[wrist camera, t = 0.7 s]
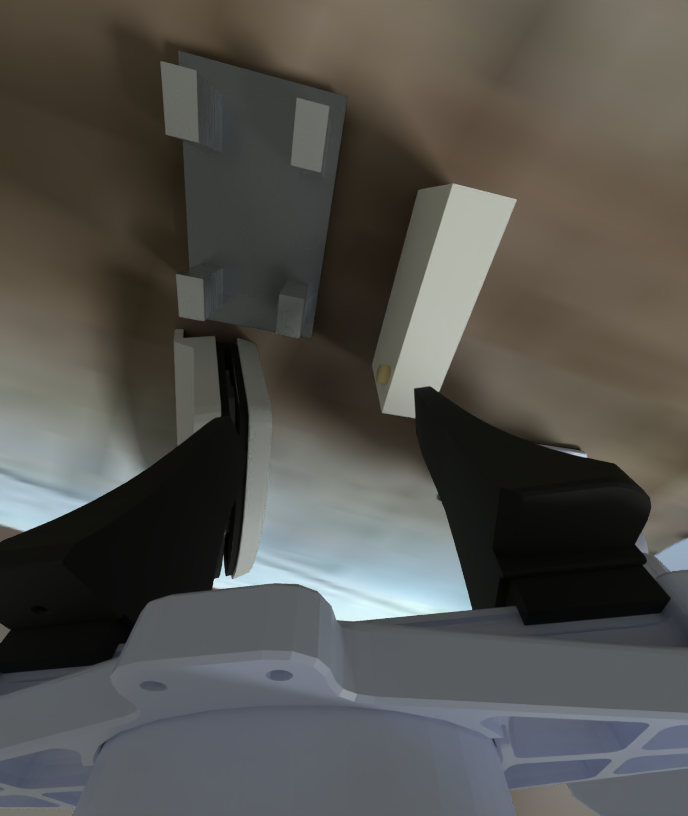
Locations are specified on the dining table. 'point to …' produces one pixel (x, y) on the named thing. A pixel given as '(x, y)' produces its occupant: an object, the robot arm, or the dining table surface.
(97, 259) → the dining table surface
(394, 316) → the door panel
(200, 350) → the grey curved block
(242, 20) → the dining table surface
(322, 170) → the clip bracket
